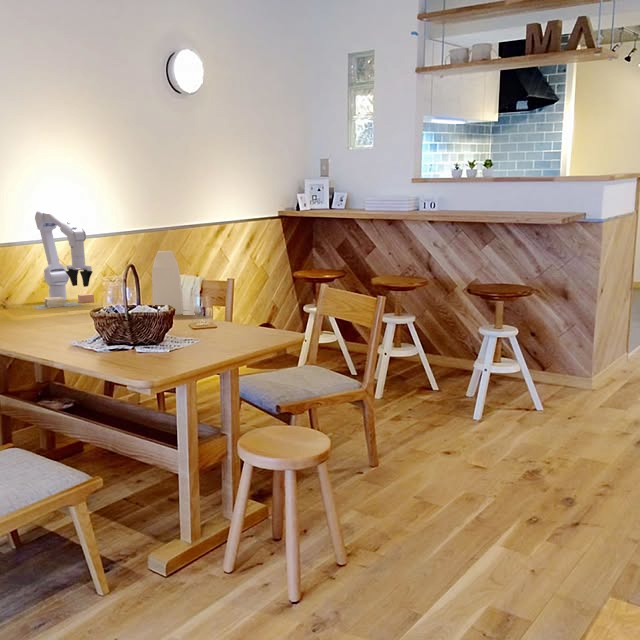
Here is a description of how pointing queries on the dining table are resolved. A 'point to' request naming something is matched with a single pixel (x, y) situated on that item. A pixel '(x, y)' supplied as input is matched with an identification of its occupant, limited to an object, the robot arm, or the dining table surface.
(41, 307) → the baseplate
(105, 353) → the dining table surface
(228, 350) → the dining table surface
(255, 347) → the dining table surface
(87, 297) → the terracotta brick
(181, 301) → the milk
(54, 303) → the birch block
